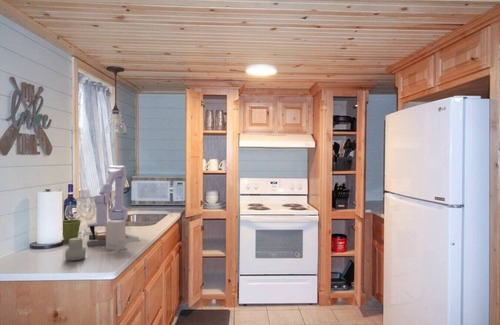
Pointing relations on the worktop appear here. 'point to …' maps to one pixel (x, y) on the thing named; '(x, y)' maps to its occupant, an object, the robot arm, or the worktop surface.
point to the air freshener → (75, 250)
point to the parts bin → (95, 241)
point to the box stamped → (101, 236)
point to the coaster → (132, 239)
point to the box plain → (99, 233)
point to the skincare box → (115, 235)
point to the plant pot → (70, 229)
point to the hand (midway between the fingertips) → (101, 239)
